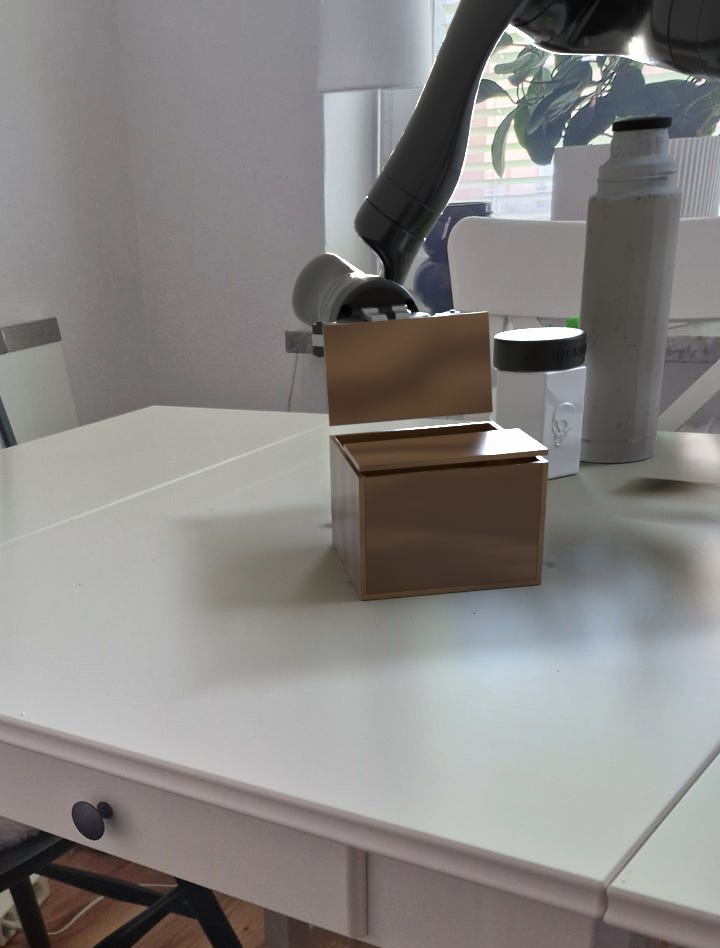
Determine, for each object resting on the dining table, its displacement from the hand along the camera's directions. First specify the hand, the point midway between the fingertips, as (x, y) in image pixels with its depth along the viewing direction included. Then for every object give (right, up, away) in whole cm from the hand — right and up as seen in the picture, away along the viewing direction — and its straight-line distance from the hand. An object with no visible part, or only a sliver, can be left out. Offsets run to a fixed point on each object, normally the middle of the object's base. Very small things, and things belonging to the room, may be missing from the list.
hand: (405, 346), depth 89 cm
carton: (+2, -17, -1) cm, 17 cm away
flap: (0, -2, 0) cm, 2 cm away
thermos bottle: (+24, 0, +25) cm, 34 cm away
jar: (+15, -3, +21) cm, 26 cm away
